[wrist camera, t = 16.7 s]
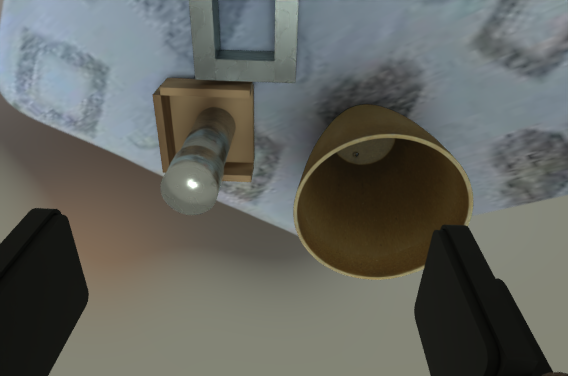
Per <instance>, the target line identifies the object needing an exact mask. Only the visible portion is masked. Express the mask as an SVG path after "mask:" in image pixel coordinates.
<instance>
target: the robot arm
mask: <svg viewBox="0 0 568 376" xmlns="http://www.w3.org/2000/svg"><path fill="white" fill-rule="evenodd" d="M88 295H89V293H88V288H87V285H86V281H85V277H84V274H83V271H82V267H81V263H80V260H79V256H78V252H77V249H76V245H75V242H74V238H73V235H72V231H71V228H70V224H69V221H68V218H67V217H66V216H65V215H62V214H61V212H60V211H59V210H57V209H41V208H35V209H32V210H31V211H30V212H28V214H27V215H26V216H25V217H24V218H23V219H22V220H21V221H20V223H19V224H18V225H17V226H16V227H15V228H14V229H13V230H12V231H11V233H10V234H9V235H8V236H7V237H6V238H5V239H4V240H3V241H2V243H1V244H0V376H48V375H49V373H50V371H51V369H52V367H53V366H54V364H55V362H56V360H57V358H58V356H59V354H60V353H61V351H62V349H63V347H64V345H65V344H66V342H67V340H68V338H69V336H70V334H71V332H72V330H73V329H74V327H75V325H76V323H77V321H78V319H79V318H80V316H81V314H82V312H83V310H84V309H85V307H86V305H87V302H88ZM414 313H415V320H416V324H417V327H418V331H419V335H420V338H421V342H422V345H423V349H424V353H425V356H426V360H427V364H428V367H429V371H430V375H431V376H568V374H567V373H563V372H553V371H552V369H551V367H550V366H549V364H548V362H547V360H546V358H545V356H544V354H543V352H542V351H541V349H540V347H539V345H538V343H537V342H536V340H535V338H534V336H533V334H532V332H531V330H530V328H529V327H528V325H527V323H526V321H525V319H524V317H523V316H522V314H521V312H520V310H519V308H518V306H517V305H516V303H515V301H514V299H513V297H512V295H511V293H510V292H509V290H508V288H507V286H506V285H505V283H504V282H503V281H502V280H500V279H495V277H494V275H493V273H492V271H491V269H490V268H489V265H488V264H487V262H486V260H485V258H484V256H483V254H482V252H481V250H480V248H479V246H478V244H477V243H476V241H475V239H474V237H473V235H472V233H471V231H470V230H469V228H468V226H466V225H446V224H444V225H442V227H441V228H440V230H434V232H433V234H432V238H431V242H430V246H429V250H428V254H427V258H426V262H425V266H424V270H423V274H422V278H421V282H420V286H419V290H418V295H417V299H416V302H415V309H414Z"/></svg>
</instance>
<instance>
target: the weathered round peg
mask: <svg viewBox="0 0 568 376" xmlns="http://www.w3.org/2000/svg"><path fill="white" fill-rule="evenodd" d="M235 128H236V126H235V121H234V119H233V117H232V116H231V115H230V113H228V112H227V111H226V110H224V109H222V108H218V107H210V108H207V109H204V110H203V111H202V112H201V113H200V114H199V115H198V117H197V119H196V121H195V123H194V125H193V127H192V129H191V130H190V132H189V134H188V136H187V138H186V140H185V142H184V144H183V146H182V148H181V150H180V151H178V152H177V154H176V155H175V156H174V158H173V160H172V162H171V164H170V166H169V168H168V170H167V172H166V173H165V175H164V177H163V179H162V182H161V194H162V197H163V198H164V200H165V202H166V203H167V204H168V205H169V206H170V207H171V208H172V209H174V210H176V211H177V212H180V213H183V214H187V215H198V214H202V213H204V212H206V211H208V210H209V209H211V208H212V206H213V205H214V204H215V202H216V199H217V196H218V192H219V189H220V186H221V183H222V179H223V176H224V165H225V162H226V159H227V156H228V152H229V149H230V146H231V143H232V139H233V136H234V133H235Z"/></svg>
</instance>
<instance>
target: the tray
mask: <svg viewBox="0 0 568 376" xmlns="http://www.w3.org/2000/svg"><path fill="white" fill-rule="evenodd" d="M153 102H154V109H155V117H156V124H157V131H158V139H159V146H160V154H161V161H162V169H163V173H166V172H167V170H168V168H169V166H170V164H171V162H172V160H173V158H174V156H175V155H176V154H177V152H178V151H180V150H181V148H182V146H183V144H184V142H185V140H186V138H187V136H188V134H189V132H190V130H191V129H192V127H193V125H194V123H195V121H196V119H197V117H198V115H199V114H200V113H201V112H202V111H203V110H204V109H207V108H210V107H218V108H222V109H224V110H226V111H227V112H228V113H230V115H231V116H232V117H233V119H234V121H235V126H236V128H235V133H234V136H233V139H232V143H231V146H230V149H229V152H228V156H227V159H226V162H225V165H224V176H223V179H222V181H237V182H251V180H252V175H253V169H254V165H253V163H254V84H252V82H249V81H220V80H195V79H184V78H167V79H166V80H165V81H164V83H163V84H162V85H160V86H159V88H158V89H157V90H156V91H155V93H154V94H153Z"/></svg>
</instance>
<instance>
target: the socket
mask: <svg viewBox="0 0 568 376" xmlns="http://www.w3.org/2000/svg"><path fill="white" fill-rule="evenodd" d="M189 7H190V20H191V32H192V44H193V57H194V69H195V80H220V81H249V82H277V83H295V77H296V51H297V26H298V0H275V52H271V51H241V50H221V48H220V27H219V7H218V0H189Z"/></svg>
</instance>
